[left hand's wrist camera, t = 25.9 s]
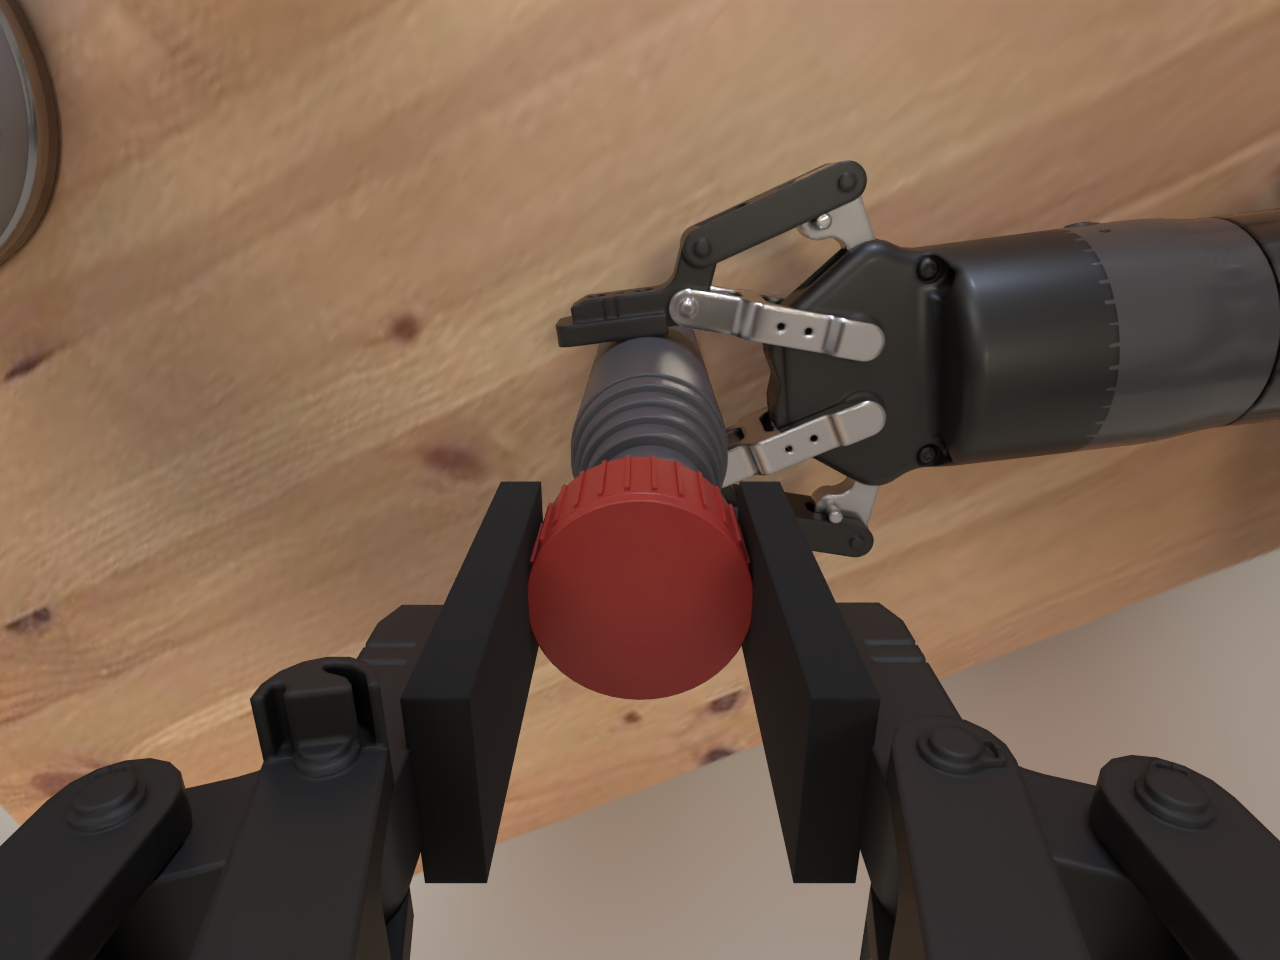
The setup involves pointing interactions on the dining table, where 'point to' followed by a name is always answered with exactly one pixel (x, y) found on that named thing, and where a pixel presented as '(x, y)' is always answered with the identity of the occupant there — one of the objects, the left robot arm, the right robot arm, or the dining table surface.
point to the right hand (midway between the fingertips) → (573, 402)
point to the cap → (640, 580)
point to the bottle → (651, 407)
